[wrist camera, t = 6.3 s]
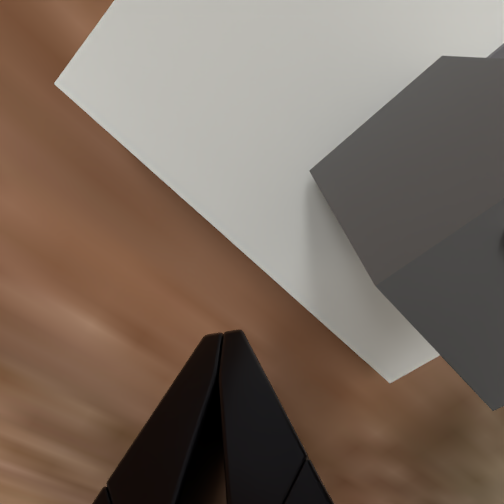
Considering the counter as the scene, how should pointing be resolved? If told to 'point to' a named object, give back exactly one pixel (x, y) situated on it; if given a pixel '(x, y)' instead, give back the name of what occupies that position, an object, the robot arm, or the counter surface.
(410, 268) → the slider
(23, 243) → the counter surface
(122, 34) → the panel
